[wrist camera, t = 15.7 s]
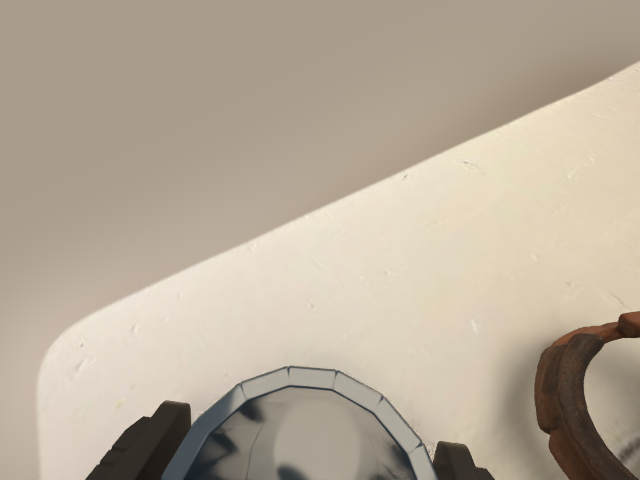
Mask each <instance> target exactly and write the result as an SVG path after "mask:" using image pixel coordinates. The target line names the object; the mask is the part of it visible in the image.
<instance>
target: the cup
mask: <svg viewBox="0 0 640 480" xmlns="http://www.w3.org/2000/svg"><path fill="white" fill-rule="evenodd" d="M161 480H439V479H438V476H437V474H436V471H435V469H434V467H433V464H432V462H431V459H430V457H429V454H428V452H427V449H426V447H425V445H424V444H423V443H422V440H421V438H420V437H419V436H418V435H417V434H416V433H415V431H414V430H413V429H412V428H411V427H410V425H409V424H408V423H407V422H406V421H405V420H404V418H403V417H402V416H401V415H400V414H399V413H398V411H397V410H396V409H395V408H394V407H393V405H392V404H391V403H390V402H389V401H388V400H387V398H386V397H384V396H383V395H382V394H381V393H379V392H377V391H375V390H374V389H372V388H370V387H368V386H366V385H364V384H363V383H361V382H359V381H357V380H355V379H353V378H352V377H350V376H348V375H346V374H344V373H342V372H341V371H336V370H335V369H323V368H311V367H300V366H289V367H288V366H285V367H282V368H280V369H277V370H274V371H271V372H268V373H265V374H262V375H259V376H256V377H253V378H250V379H248V380H245V381H242V382H241V383H239V384H237V385H236V386H235V387H234V388H232V389H231V390H230V391H229V392H228V393H227V394H225V395H224V396H223V397H222V398H221V399H219V400H218V401H217V402H216V403H215V404H214V405H212V406H211V407H210V408H209V409H208V410H207V411H205V412H204V413H203V414H202V415H201V416H199V417H198V418H197V421H195V422H194V423H193V425H192V427H191V428H190V430H189V431H188V433H187V435H186V436H185V438H184V440H183V441H182V443H181V445H180V446H179V448H178V450H177V451H176V453H175V454H174V456H173V458H172V459H171V461H170V463H169V464H168V466H167V468H166V469H165V471H164V473H163V474H162V476H161Z"/></svg>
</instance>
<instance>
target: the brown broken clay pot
mask: <svg viewBox="0 0 640 480" xmlns="http://www.w3.org/2000/svg"><path fill="white" fill-rule="evenodd" d="M621 338H640V311H638V312H630V313H625V314H621V315H620V317H619V320H618V322H613V323H607V324H604V325H601V326H590V327H583V328H579V329H577V330H574V331H572V332H570V333H568V334H566V335H564V336H562V337H561V338H559V339H558V340H557V341H555V342H554V343H553V345H552V346H550V347H549V348H547V349H546V350H545V351H544V352H543V353H542V354H541V357H540V360H539V363H538V367H537V373H536V377H535V388H534V392H535V393H534V399H535V406H536V414H537V421H538V425H539V427H540V429H541V430H542V431H544V432H545V433H547V434H549V435H550V440H549V449H550V452H551V453H552V455H553V456H554V458H555V460H556V461H557V463H558V465H559V466H560V468H561V469H562V470H563V472H564V473H565V474H566V475H567V476H568V478H569V479H570V480H639V479H638V478H637V477H635V476H634V475H633V474H632V473H631V472H630V471H629V470H628V469H627V468H626V467H624V465H623V464H622V463H621V462H620V461H619V460H618V459H617V458H616V457H615V456H614V455H613V453H612V452H611V451H610V450H609V449H608V448H607V446H606V445H605V443H604V441H603V440H602V438H601V437H600V435H599V434H598V432H597V430H596V428H595V426H594V424H593V422H592V420H591V418H590V415H589V413H588V410H587V405H586V401H585V396H584V376H585V372H586V369H587V367H588V365H589V363H590V361H591V360H592V358H593V357H594V356H595V355H596V354H597V353H598V352H599V351H600V350H601V349H602V347H603V346H604V344H605V343H608V342H610V341H613V340H617V339H621Z"/></svg>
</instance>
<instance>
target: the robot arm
mask: <svg viewBox="0 0 640 480" xmlns="http://www.w3.org/2000/svg"><path fill="white" fill-rule="evenodd" d="M190 428H191V409H190V405H189V404H188V403H181V402H174V401H164V402H163V403H162V404H161V405H160V406H159V408H158V409H157V410H156V412H155V413H154V414H153V416H152V417H144V416H143V417H142V418H141V419H139V420H138V421H137V422H135V423H134V424H133V425H131V426H130V427H129V428H127V429H126V430H125V431H124V433H123V434H122V435H121V436H120V437H119V439H118V440H117V441H116V442H115V444H114V445H113V446H112V449H111V450H109V451H108V452H107V453H106V455H105V456H104V457H103V458H102V460H101V461H100V464H99V465H97V466H96V467H95V468H94V469H93V471H92V472H91V473H90V474H89V476H88V477H87V478H86V479H85V480H161V476H162V474H163V473H164V471H165V469H166V468H167V466H168V464H169V463H170V461H171V459H172V458H173V456H174V454H175V453H176V451H177V450H178V448H179V446H180V445H181V443H182V441H183V440H184V438H185V436H186V435H187V433H188V431H189V430H190ZM433 467H434V469H435V471H436V474H437V476H438V479H439V480H495V479H494V478H493V477H492V475H491V474H490V473H489V472H488V470H487V469H484V468H478V467H475V464H474V462H473V459H472V456H471V454H470V452H469V449H468V448H467V446H466V445H464V444H458V443H451V442H444V441H439V442H438V444H437V448H436V452H435V456H434V460H433Z"/></svg>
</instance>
